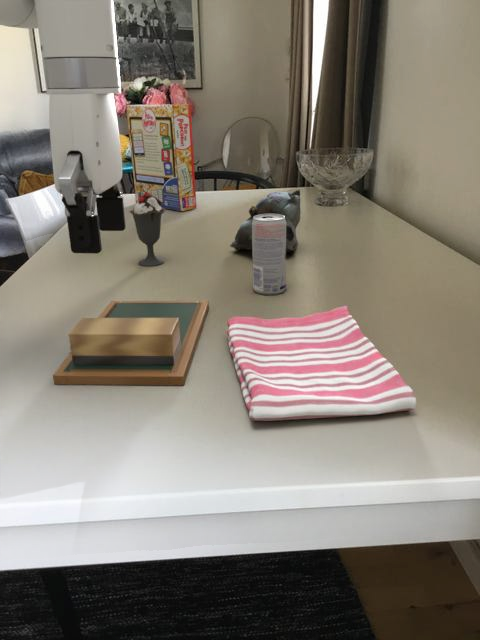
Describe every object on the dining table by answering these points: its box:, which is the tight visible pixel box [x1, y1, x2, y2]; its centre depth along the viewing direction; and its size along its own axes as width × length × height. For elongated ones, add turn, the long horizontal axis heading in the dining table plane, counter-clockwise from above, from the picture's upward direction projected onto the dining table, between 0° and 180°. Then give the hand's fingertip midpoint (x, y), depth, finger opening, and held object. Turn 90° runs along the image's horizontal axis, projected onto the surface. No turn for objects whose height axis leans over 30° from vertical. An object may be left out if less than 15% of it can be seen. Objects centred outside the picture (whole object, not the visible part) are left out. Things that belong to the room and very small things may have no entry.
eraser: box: [68, 317, 181, 365], centre depth 68 cm, size 12×5×4 cm, turn 86°
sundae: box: [128, 185, 166, 267], centre depth 106 cm, size 7×7×15 cm
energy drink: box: [251, 214, 287, 296], centre depth 90 cm, size 5×5×12 cm
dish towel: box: [226, 305, 417, 422], centre depth 66 cm, size 17×23×4 cm
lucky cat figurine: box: [229, 189, 302, 255], centre depth 113 cm, size 15×12×14 cm
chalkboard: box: [52, 300, 210, 387], centre depth 75 cm, size 15×24×1 cm, turn 176°
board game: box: [125, 103, 197, 212], centre depth 155 cm, size 20×6×27 cm, turn 46°
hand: (100, 240), depth 65 cm, fingers open, 9 cm apart
